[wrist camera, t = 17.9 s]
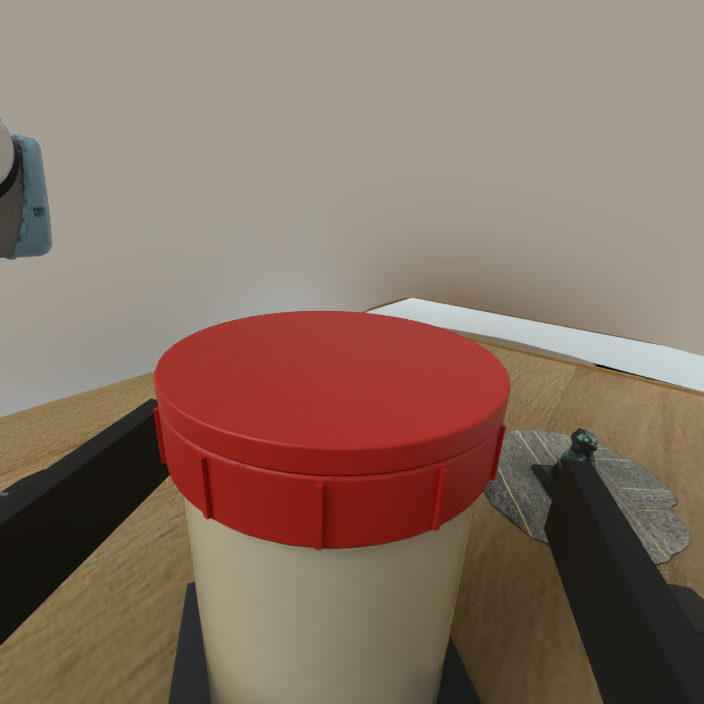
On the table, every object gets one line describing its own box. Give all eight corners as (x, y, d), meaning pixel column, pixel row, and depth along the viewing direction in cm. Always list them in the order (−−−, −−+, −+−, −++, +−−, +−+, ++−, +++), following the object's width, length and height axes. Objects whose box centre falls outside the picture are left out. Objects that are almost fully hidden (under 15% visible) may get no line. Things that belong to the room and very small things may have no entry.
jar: (204, 896, 9) (125, 501, 5) (222, 610, 15) (194, 334, 11) (473, 801, 11) (574, 446, 7) (390, 578, 17) (417, 327, 13)
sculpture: (615, 612, 17) (534, 436, 19) (479, 581, 25) (431, 459, 27) (731, 507, 23) (659, 379, 24) (590, 509, 30) (543, 412, 32)
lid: (116, 592, 5) (90, 477, 5) (191, 372, 12) (185, 312, 11) (577, 514, 7) (606, 422, 6) (417, 360, 14) (422, 308, 13)
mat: (116, 1054, 8) (112, 1046, 7) (188, 591, 17) (187, 582, 17) (550, 870, 10) (555, 860, 10) (407, 552, 19) (408, 544, 19)
